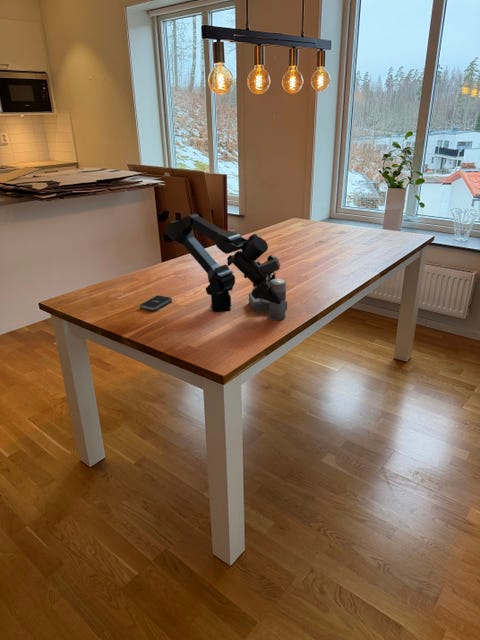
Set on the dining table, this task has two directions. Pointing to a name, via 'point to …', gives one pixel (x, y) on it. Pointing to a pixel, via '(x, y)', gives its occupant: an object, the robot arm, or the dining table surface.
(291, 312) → the dining table surface
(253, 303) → the camera body
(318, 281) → the dining table surface
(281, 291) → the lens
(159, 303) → the external hard drive
